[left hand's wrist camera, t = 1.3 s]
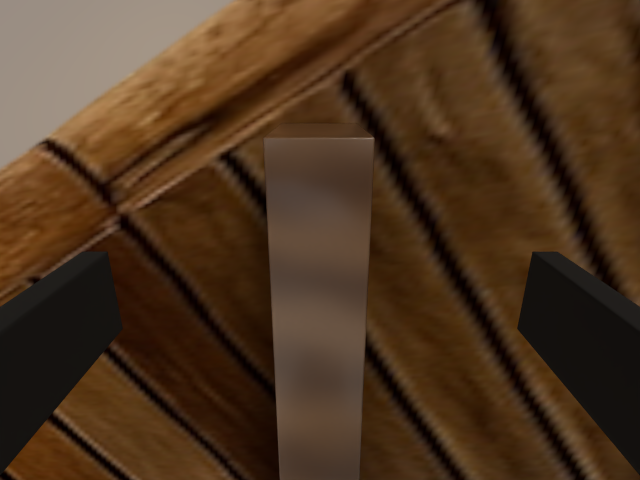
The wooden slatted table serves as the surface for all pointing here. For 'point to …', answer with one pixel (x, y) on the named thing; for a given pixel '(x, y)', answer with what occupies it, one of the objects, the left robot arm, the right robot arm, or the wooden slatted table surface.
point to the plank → (319, 292)
